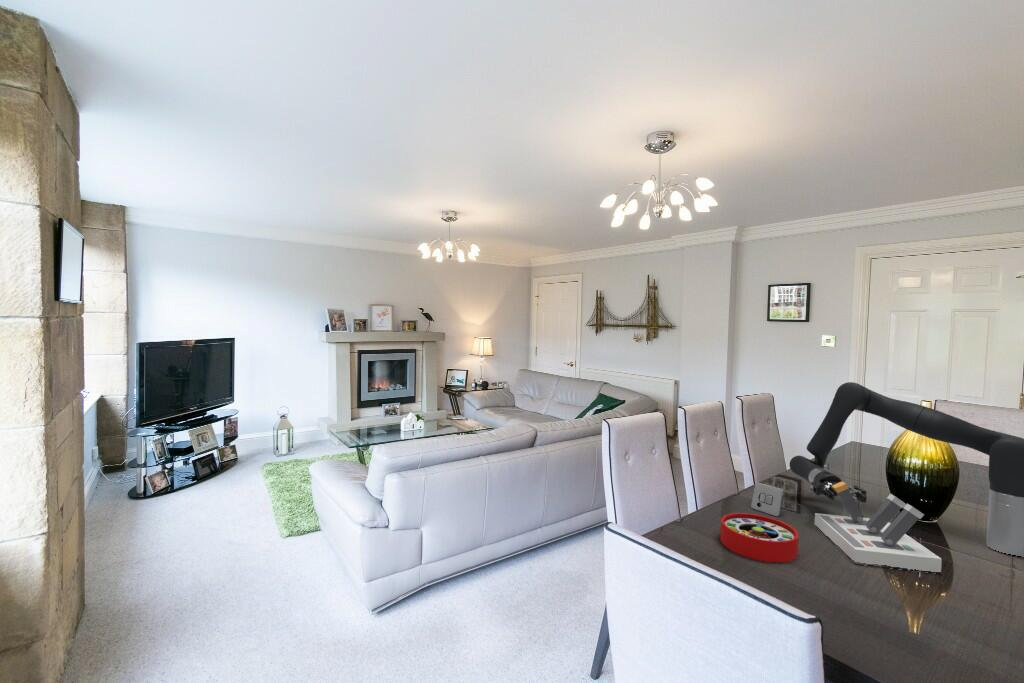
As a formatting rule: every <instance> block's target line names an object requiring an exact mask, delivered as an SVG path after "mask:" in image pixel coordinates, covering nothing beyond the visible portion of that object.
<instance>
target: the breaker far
mask: <svg viewBox="0 0 1024 683" xmlns="http://www.w3.org/2000/svg"><path fill="white" fill-rule="evenodd" d="M905 504H906V505H905V506H904V507H903V510H901V511H900V513H899V514H898V515H897V516H896V518H894V519H893V520H892V522H890V523H891V524H890V525H889V526H888V527H887V528H886V530H885V531H884V532H883V533H882V534H881V535H880V536H882V537H881V539H882V540H883V541H884V542H885V543H886V544H888V545H895V544H896V543H897V542H898V541H899V540H900V539H901V538H902V537H903V536H904V534H906V533H907V532H909V530H910V529H911V528H912V527H913V526H914V524H916V522H917V521H918V520H921V519H922V518H923V517H924V516H925V513H922V512H921V511H920V510H919V509H917V508H915V507H914V506H912V505H910V504H909V503H905Z"/></svg>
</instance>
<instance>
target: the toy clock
mask: <svg viewBox="0 0 1024 683" xmlns="http://www.w3.org/2000/svg"><path fill="white" fill-rule="evenodd" d="M799 537H800V536H799V532H798V531H797V530H796V529H795V528H794V527H793V526H791V525H789V524H787V523H785V522H783V521H781V520H778V519H775V518H772V517H769V516H764V515H759V514H754V513H747V512H746V513H744V512H742V513H741V512H737V513H736V512H733V513H729V514H725V515H723V516H722V517H721V520H720V539H719V540H720V542H721V543H722V545H723V546H724V547H725V548H726V549H728V550H730V551H731V552H733V553H735V554H737V555H739V556H743V557H745V558H748V559H752V560H756V561H760V562H766V563H773V562H784V563H789V562H788V561H790V562H792V561H791V560H793V559H795V558H796V557H797V558H798V556H799ZM797 555H798V556H797ZM797 558H796V559H797ZM796 559H795V560H796ZM793 561H794V560H793Z"/></svg>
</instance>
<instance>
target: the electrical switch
mask: <svg viewBox="0 0 1024 683" xmlns="http://www.w3.org/2000/svg"><path fill="white" fill-rule="evenodd" d="M752 494H753V495H752V498H751V499H752V500H751V504H750V507H751V509H752V510H753V509H754V510H756V511H758V512H759V511H760V512H762V513H765V514H767V515H771V516H773V517H777V516H778V517H779V516H780V515H781V514H782V508H783V503H784V498H785V491H784V489H783V488H780V487H775V486H773V485H768V484H765V483H762V482H755V485H754V489H753V493H752Z"/></svg>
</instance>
